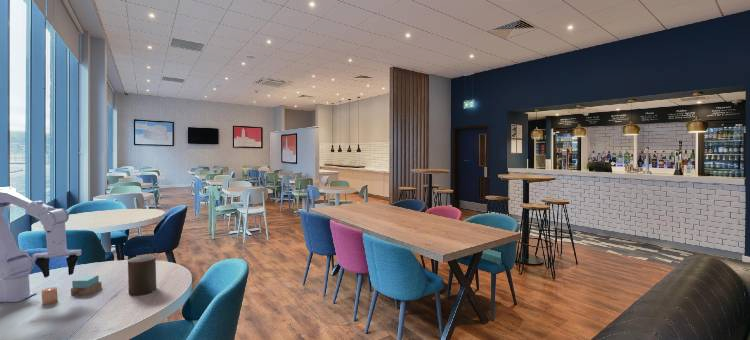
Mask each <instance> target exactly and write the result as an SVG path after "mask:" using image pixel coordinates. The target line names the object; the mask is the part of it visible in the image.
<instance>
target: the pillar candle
mask: <svg viewBox="0 0 750 340" xmlns="http://www.w3.org/2000/svg"><path fill="white" fill-rule="evenodd" d="M156 262H157V261H156V256H155V255H139V256H135V257H131V258H129V259H128V260H127V272H128V273H127V276H128V278H127V280H128V281H127V285H128V287H127V288H128V289H127V290H128V294H129V296H143V295H144V296H145V295H148V294H151V293H153V292H155V291H156V290H157V264H156Z"/></svg>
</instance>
